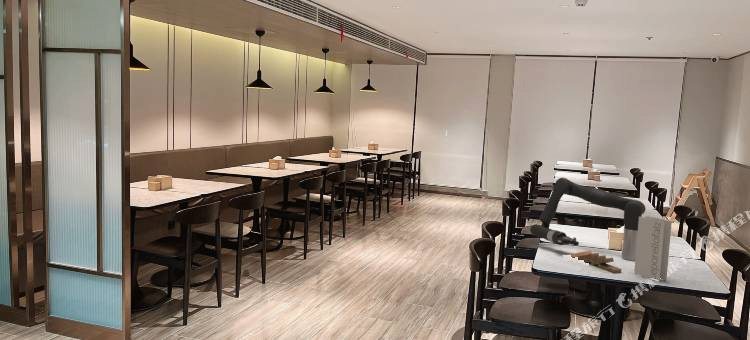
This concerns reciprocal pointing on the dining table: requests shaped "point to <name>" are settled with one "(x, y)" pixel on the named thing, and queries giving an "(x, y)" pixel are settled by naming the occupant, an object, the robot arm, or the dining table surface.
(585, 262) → the tile
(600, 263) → the tile
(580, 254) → the tile
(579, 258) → the tile
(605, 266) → the tile
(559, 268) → the dining table surface
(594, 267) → the mat
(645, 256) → the brochure
